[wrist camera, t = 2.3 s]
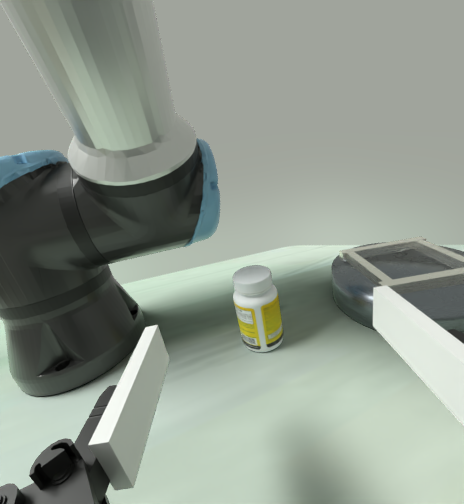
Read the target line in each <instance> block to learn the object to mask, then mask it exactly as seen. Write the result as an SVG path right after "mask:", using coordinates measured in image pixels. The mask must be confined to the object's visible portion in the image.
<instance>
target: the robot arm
mask: <svg viewBox="0 0 464 504" xmlns="http://www.w3.org/2000/svg"><path fill="white" fill-rule="evenodd" d="M0 5H1V7H2V8H3V10H4V12H5V14H6V15H7V17H8V19H9V21H10V22H11V24H12V26H13V28H14V30H15V31H16V33H17V35H18V37H19V38H20V40H21V42H22V44H23V45H24V47H25V49H26V51H27V52H28V54H29V56H30V58H31V59H32V61H33V63H34V65H35V66H36V68H37V70H38V72H39V73H40V75H41V77H42V79H43V80H44V82H45V84H46V86H47V87H48V89H49V91H50V93H51V94H52V96H53V98H54V100H55V101H56V103H57V105H58V107H59V108H60V110H61V112H62V113H63V115H64V117H65V119H66V121H67V122H68V124H69V126H70V128H71V130H72V131H73V133H74V137H73V139H72V142H71V144H70V147H69V149H68V160H69V161H68V160H67V158H65V157H64V156H63V154H62V153H60V152H58V151H54V150H39V151H30V152H24V153H20V154H17V155H12V156H2V157H0V317H1V319H2V320H3V322H4V325H5V332H6V341H7V350H8V358H9V367H10V372H11V375H12V377H13V378H14V380H15V381H16V383H17V384H18V386H19V387H20V388H21V390H22V391H23V392H25V393H27V394H29V395H34V396H47V395H53V394H58V393H62V392H65V391H68V390H71V389H74V388H76V387H79V386H81V385H83V384H85V383H87V382H89V381H91V380H93V379H95V378H97V377H98V376H100V375H102V374H103V373H105V372H106V371H108V370H109V369H111V368H112V367H113V366H115V365H116V364H117V363H119V362H120V361H121V360H122V359H123V358H124V357H125V356H127V355H128V354H129V353H130V352H131V350H132V349H133V348H134V347H135V346H136V345H137V346H136V348H135V350H134V352H133V354H132V356H131V358H130V360H129V362H128V364H127V366H126V368H125V370H124V372H123V374H122V376H121V379H120V381H119V383H118V385H113V386H109V387H108V388H107V389H106V390H105V391H104V392H103V393H102V394H101V396H100V397H99V399H98V401H97V403H96V404H95V406H94V409H93V410H92V412H91V414H90V415H89V418H88V419H87V421H86V423H85V425H84V427H83V428H82V430H81V432H80V434H79V436H78V438H77V440H76V441H75V443H73V442H72V441H71V439H62V440H58V441H57V442H55V443H53V444H51V445H50V446H49V447H47V448H46V449H45V450H44V451H43V452H42V453H41V454H40V455H39V456H38V458H37V459H36V460H35V462H34V464H33V465H32V467H31V470H30V475H29V476H30V477H31V479H32V480H33V481H34V483H33V484H31V485H29V486H27V487H25V488H23V489H21V490H19V489H18V488H17V486H16V485H15V484H6V485H4V486H1V487H0V504H109V501H108V498H107V496H106V495H105V493H106V491H107V488H108V485H109V482H110V483H111V485H112V486H113V488H114V490H121V489H128V488H134V485H135V481H136V478H137V474H138V471H139V467H140V463H141V460H142V456H143V453H144V449H145V446H146V442H147V439H148V435H149V432H150V428H151V425H152V421H153V418H154V414H155V411H156V407H157V403H158V400H159V396H160V393H161V389H162V386H163V382H164V379H165V375H166V372H167V368H168V365H169V361H170V358H169V355H168V353H167V350H166V347H165V344H164V341H163V338H162V336H161V333H160V330H159V327H158V325H155V326H149V327H145V319H144V317H143V314H142V311H141V309H140V307H139V305H138V304H137V303H136V302H135V301H134V299H133V298H132V297H131V296H130V295H129V294H128V293H127V292H126V291H125V290H124V289H123V287H122V286H121V285H120V284H119V283H118V282H117V281H116V280H115V279H114V277H113V275H112V273H111V271H110V268H109V266H108V264H110V263H115V262H118V261H123V260H127V259H132V258H136V257H140V256H145V255H149V254H153V253H158V252H162V251H166V250H171V249H175V248H179V247H186V246H189V245H191V244H192V243H195V242H198V241H201V240H205V239H207V238H209V237H211V236H212V235H213V234H214V232H215V231H216V229H217V226H218V223H219V216H220V193H219V189H218V186H217V184H218V176H217V169H216V164H215V161H214V157H213V154H212V151H211V149H210V147H209V145H208V143H207V142H205V141H204V140H202V139H196V134H195V130H194V128H193V127H192V125H191V124H190V123H189V122H188V121H186V120H185V119H184V118H182V117H181V116H179V115H178V114H177V113H175V109H174V104H173V99H172V94H171V89H170V84H169V79H168V74H167V69H166V64H165V59H164V54H163V49H162V44H161V39H160V33H159V29H158V24H157V18H156V13H155V8H154V4H153V0H0ZM373 327H374V328H375V329H376V330H377V331H378V332H379V333H380V334H381V335H382V337H383V338H384V339H385V340H386V341H387V342H388V343H389V344H390V345H391V346H392V348H393V349H394V350H395V351H396V352H397V353H398V354H399V355H400V356H401V358H402V359H403V360H404V361H405V362H406V363H407V364H408V365H409V366H410V367H411V369H412V370H413V371H414V372H415V373H416V374H417V375H418V376H419V377H420V379H421V380H422V381H423V382H424V383H425V384H426V385H427V386H428V387H429V389H430V390H431V391H432V392H433V393H434V394H435V395H436V396H437V397H438V398H439V400H440V401H441V402H442V403H443V404H444V405H445V406H446V407H447V408H448V410H449V411H450V412H451V413H452V414H453V415H454V416H455V417H456V418H457V419H458V421H459V422H460V423H461V424H462V425H463V426H464V333H462V332H459V331H457V330H455V329H450V330H445V329H443V328H442V327H441V326H439V325H438V324H437V323H436V322H434V321H433V320H432V319H430V318H429V317H428V316H426V315H425V314H424V313H422V312H421V311H420V310H418V309H417V308H416V307H414V306H413V305H412V304H411V303H409V302H408V301H407V300H405V299H404V298H403V297H401V296H400V295H399V294H397V293H396V292H395V291H393V290H392V289H391V288H389V287H388V286H387V285H385V286H379V287H374V288H373ZM137 343H138V344H137Z"/></svg>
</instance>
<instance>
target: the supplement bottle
mask: <svg viewBox="0 0 464 504" xmlns="http://www.w3.org/2000/svg"><path fill="white" fill-rule="evenodd" d="M233 283H234V288H235V291H234V294H233V301H234V305H235V310H236V314H237V318H238V323H239V327H240V332H241V336H242V341H243V343H244V345H245V346H246V347H247V348H248V349H250V350H252V351H255V352H267V351H270V350H273V349H275V348H277V347H278V346H279V345H280V344H281V342H282V340H283V327H282V320H281V313H280V306H279V298H278V292H277V289H276V287H275V285H274V284H272V276H271V271H270V269H269V268H267V267H265V266H261V265H252V266H247V267H244V268H241V269H239V270H238V271H236V272H235V273H234V275H233Z"/></svg>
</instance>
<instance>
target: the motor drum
mask: <svg viewBox="0 0 464 504" xmlns="http://www.w3.org/2000/svg"><path fill="white" fill-rule="evenodd" d="M339 252H340V255H339V256H337V257H336V258H335V260H334V261H333V263H332V287H333V298H334V300H335V302H336V304H337V306H338V307H339V308H340V309H341V310H342V311H343V312H344V313H345V314H346V315H347V316H349V317H350V318H352V319H353V320H355V321H357V322H358V323H360V324H362V325H364V326H366V327H369V328H371V329H373V330H376V329H375V328H374V327H373V288H374V287H379V286H385V285H387V286H388V287H389V288H391V289H392V290H393V291H395V292H396V293H397V294H399V295H400V296H401V297H403V298H404V299H405V300H407V301H408V302H409V303H411V304H412V305H413V306H414V307H416V308H417V309H418V310H420V311H421V312H422V313H424V314H425V315H426V316H428V317H429V318H430V319H432V320H433V321H434V322H436V323H437V324H438V325H439V326H441V327H442V328H443V329H445V330H450V329H455V330H457V331H459V332H462V333H464V252H463V251H459V250H456V249H452V248H447V247H443V246H437V245H435V244H432V243H430V242H427V241H426V239H425V238H423V237H415V238H410V239H404V240H398V241H393V242H387V243H375V244H368V245H363V246H359V247H355V248H352V249H347V250H342V251H339ZM376 331H377V330H376Z"/></svg>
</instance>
